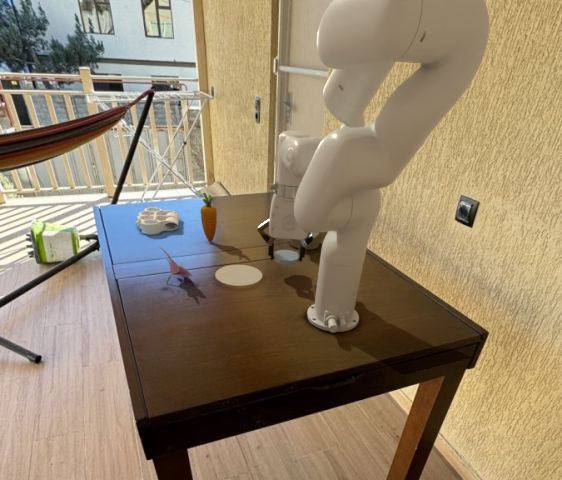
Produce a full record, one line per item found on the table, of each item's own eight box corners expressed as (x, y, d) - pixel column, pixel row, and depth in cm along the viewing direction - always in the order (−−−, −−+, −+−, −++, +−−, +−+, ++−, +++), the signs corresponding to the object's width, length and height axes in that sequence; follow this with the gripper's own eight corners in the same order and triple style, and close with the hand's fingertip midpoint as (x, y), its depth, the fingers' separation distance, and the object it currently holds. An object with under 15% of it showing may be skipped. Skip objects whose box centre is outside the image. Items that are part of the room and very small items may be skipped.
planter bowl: (275, 250, 126) (277, 215, 119) (286, 233, 138) (289, 200, 131) (324, 257, 123) (329, 222, 116) (332, 239, 135) (336, 207, 128)
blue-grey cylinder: (299, 267, 106) (300, 261, 104) (272, 265, 105) (273, 259, 104) (298, 255, 111) (298, 250, 110) (272, 254, 111) (273, 248, 110)
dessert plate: (261, 290, 104) (261, 286, 103) (212, 288, 104) (212, 284, 103) (262, 269, 114) (263, 265, 113) (218, 267, 114) (217, 263, 113)
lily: (194, 301, 100) (205, 265, 97) (147, 286, 95) (158, 247, 93) (190, 293, 110) (200, 260, 108) (147, 279, 106) (157, 244, 103)
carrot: (219, 244, 127) (217, 195, 117) (204, 246, 125) (201, 196, 115) (216, 238, 130) (213, 190, 120) (201, 240, 128) (197, 191, 119)
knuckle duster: (178, 234, 131) (132, 235, 129) (179, 216, 145) (138, 216, 142) (177, 224, 129) (130, 224, 126) (178, 207, 142) (136, 207, 140)
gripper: (255, 192, 93) (253, 263, 104) (327, 197, 94) (318, 266, 105) (256, 183, 99) (255, 251, 110) (324, 188, 99) (316, 254, 111)
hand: (286, 258), depth 108 cm, fingers closed on blue-grey cylinder, 7 cm apart
